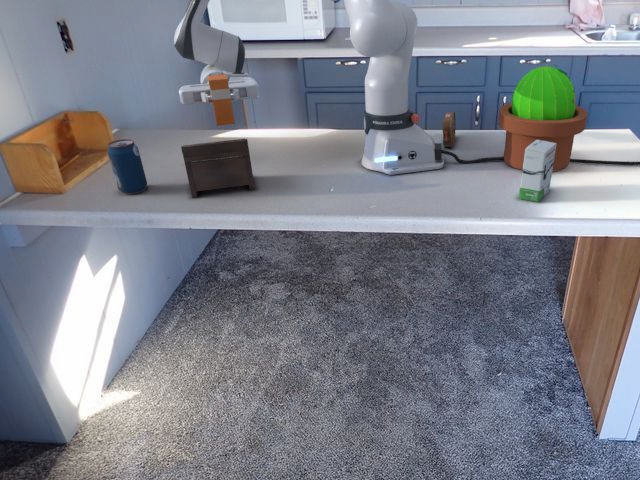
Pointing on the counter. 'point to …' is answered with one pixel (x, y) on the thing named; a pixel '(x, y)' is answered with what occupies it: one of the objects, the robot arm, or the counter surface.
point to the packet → (221, 99)
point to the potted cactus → (542, 116)
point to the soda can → (127, 166)
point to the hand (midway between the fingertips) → (221, 98)
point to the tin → (449, 129)
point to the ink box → (537, 170)
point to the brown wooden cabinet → (218, 165)
